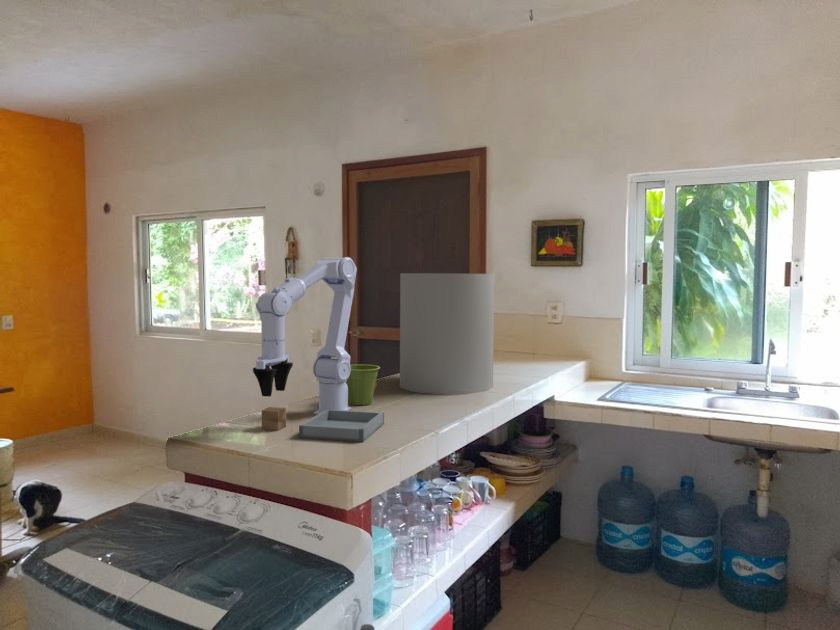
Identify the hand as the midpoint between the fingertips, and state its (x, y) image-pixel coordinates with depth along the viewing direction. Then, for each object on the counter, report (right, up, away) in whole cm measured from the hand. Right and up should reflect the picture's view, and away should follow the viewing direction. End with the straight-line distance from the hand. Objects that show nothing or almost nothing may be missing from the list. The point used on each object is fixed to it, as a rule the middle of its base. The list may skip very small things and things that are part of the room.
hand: (273, 393), depth 152 cm
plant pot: (+19, -7, +31) cm, 37 cm away
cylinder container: (+47, -6, +63) cm, 78 cm away
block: (0, -9, +1) cm, 9 cm away
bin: (+18, -9, -1) cm, 20 cm away
